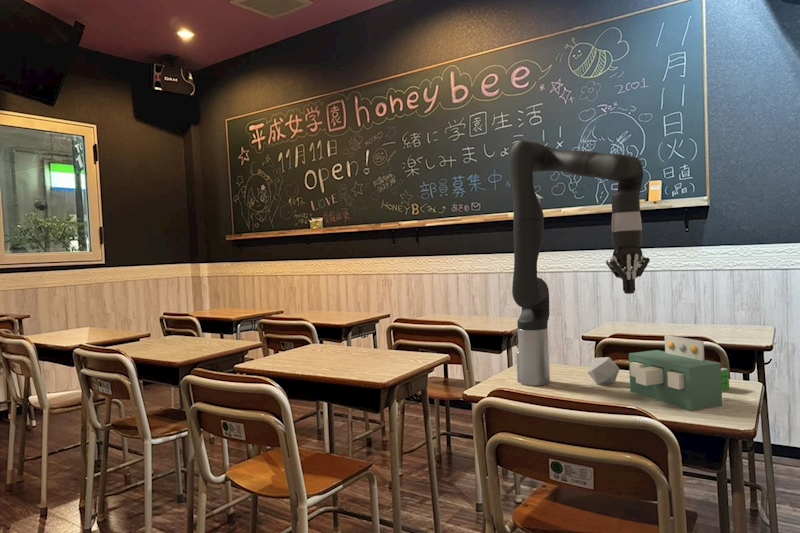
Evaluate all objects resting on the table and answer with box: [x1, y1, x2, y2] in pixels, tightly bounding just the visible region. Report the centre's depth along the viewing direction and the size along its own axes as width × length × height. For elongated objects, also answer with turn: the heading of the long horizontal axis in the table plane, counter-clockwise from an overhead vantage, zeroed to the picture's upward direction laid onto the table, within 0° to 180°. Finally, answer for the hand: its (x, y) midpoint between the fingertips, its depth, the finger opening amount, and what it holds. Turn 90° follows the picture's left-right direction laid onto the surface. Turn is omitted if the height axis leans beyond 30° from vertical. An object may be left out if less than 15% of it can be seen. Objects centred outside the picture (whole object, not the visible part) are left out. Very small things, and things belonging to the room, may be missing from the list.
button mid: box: [635, 366, 664, 386], centre depth 150 cm, size 4×6×4 cm, turn 107°
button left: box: [629, 362, 645, 377], centre depth 158 cm, size 4×6×4 cm, turn 107°
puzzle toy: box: [721, 367, 730, 391], centre depth 160 cm, size 6×6×6 cm
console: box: [628, 334, 723, 412], centre depth 152 cm, size 22×10×16 cm, turn 17°
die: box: [587, 356, 620, 386], centre depth 172 cm, size 8×9×10 cm
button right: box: [667, 371, 685, 390], centre depth 144 cm, size 4×6×4 cm, turn 107°
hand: (629, 293), depth 152 cm, fingers closed
